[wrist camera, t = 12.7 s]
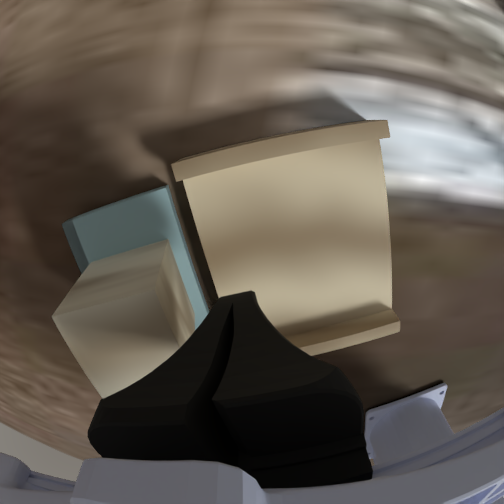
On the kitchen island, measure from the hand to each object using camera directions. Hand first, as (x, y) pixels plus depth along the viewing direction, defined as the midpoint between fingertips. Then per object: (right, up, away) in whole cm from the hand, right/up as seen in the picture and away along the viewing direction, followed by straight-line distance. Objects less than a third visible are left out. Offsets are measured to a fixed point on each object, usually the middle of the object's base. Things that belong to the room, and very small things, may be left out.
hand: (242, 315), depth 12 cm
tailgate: (-3, +1, +5) cm, 6 cm away
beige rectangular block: (-5, 0, +4) cm, 7 cm away
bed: (+3, +3, +5) cm, 6 cm away
